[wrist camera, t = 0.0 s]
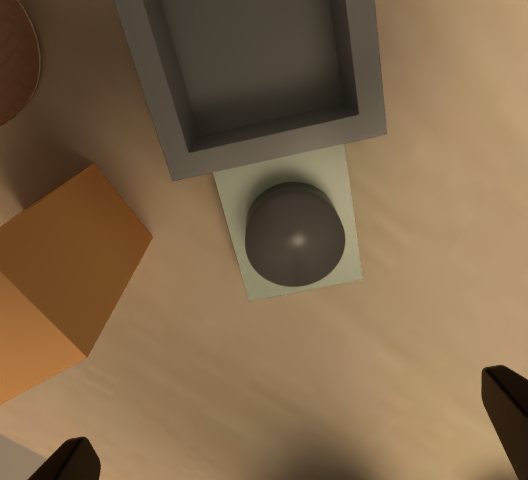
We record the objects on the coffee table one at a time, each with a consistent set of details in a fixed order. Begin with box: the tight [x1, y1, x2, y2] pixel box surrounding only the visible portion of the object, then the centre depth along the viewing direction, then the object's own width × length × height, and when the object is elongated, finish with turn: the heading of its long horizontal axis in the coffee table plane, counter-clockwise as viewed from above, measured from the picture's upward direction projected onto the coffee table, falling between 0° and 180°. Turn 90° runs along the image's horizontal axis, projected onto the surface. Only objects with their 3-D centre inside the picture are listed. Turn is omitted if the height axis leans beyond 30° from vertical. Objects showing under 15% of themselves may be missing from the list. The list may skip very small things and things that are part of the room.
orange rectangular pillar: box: [0, 163, 153, 405], centre depth 19 cm, size 5×5×10 cm
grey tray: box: [114, 0, 387, 302], centre depth 19 cm, size 16×9×5 cm, turn 12°
